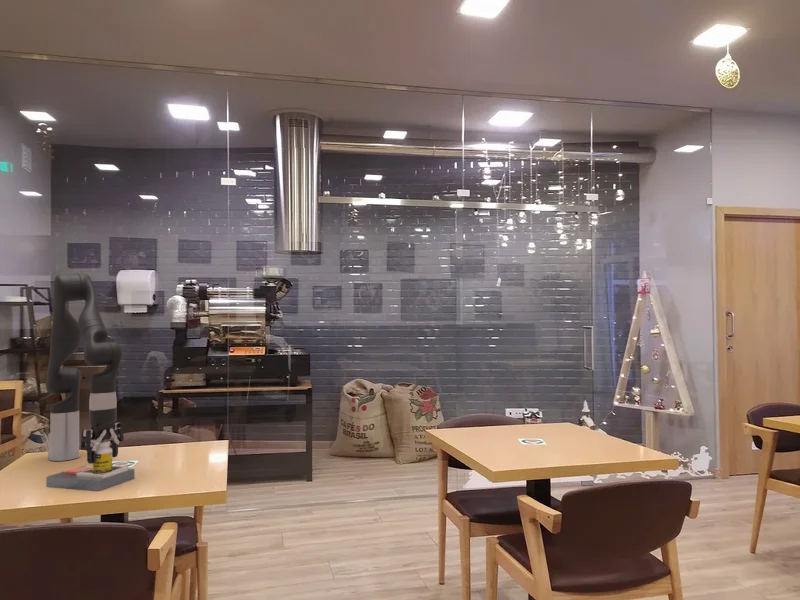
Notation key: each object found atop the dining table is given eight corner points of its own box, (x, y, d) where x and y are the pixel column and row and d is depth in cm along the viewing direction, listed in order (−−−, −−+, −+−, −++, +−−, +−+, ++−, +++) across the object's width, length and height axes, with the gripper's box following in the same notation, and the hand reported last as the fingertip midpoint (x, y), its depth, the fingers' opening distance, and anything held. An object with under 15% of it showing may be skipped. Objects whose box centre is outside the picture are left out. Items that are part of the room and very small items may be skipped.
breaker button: (64, 482, 176) (64, 471, 176) (77, 478, 181) (77, 467, 181) (76, 483, 175) (76, 472, 175) (90, 479, 180) (90, 468, 180)
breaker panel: (46, 486, 173) (46, 472, 173) (84, 474, 186) (84, 461, 186) (98, 491, 167) (98, 476, 167) (134, 478, 180) (134, 465, 180)
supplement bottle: (90, 476, 172) (90, 443, 172) (94, 472, 177) (94, 440, 177) (110, 474, 173) (110, 442, 174) (113, 470, 178) (114, 439, 179)
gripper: (111, 403, 184) (111, 454, 183) (74, 410, 170) (73, 465, 170) (130, 404, 182) (130, 455, 181) (94, 410, 168) (93, 466, 167)
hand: (102, 460), depth 175 cm, fingers open, 8 cm apart
